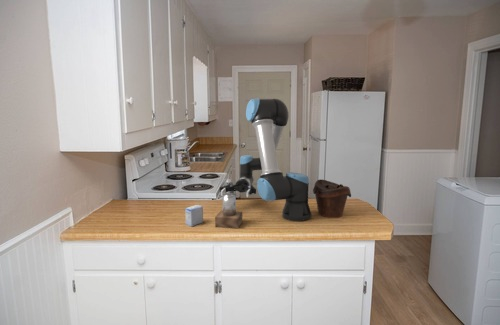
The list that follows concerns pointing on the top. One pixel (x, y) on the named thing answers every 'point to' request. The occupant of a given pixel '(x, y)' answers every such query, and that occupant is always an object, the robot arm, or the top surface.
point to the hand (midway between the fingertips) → (234, 194)
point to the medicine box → (194, 215)
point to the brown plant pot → (330, 198)
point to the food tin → (229, 204)
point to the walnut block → (228, 220)
